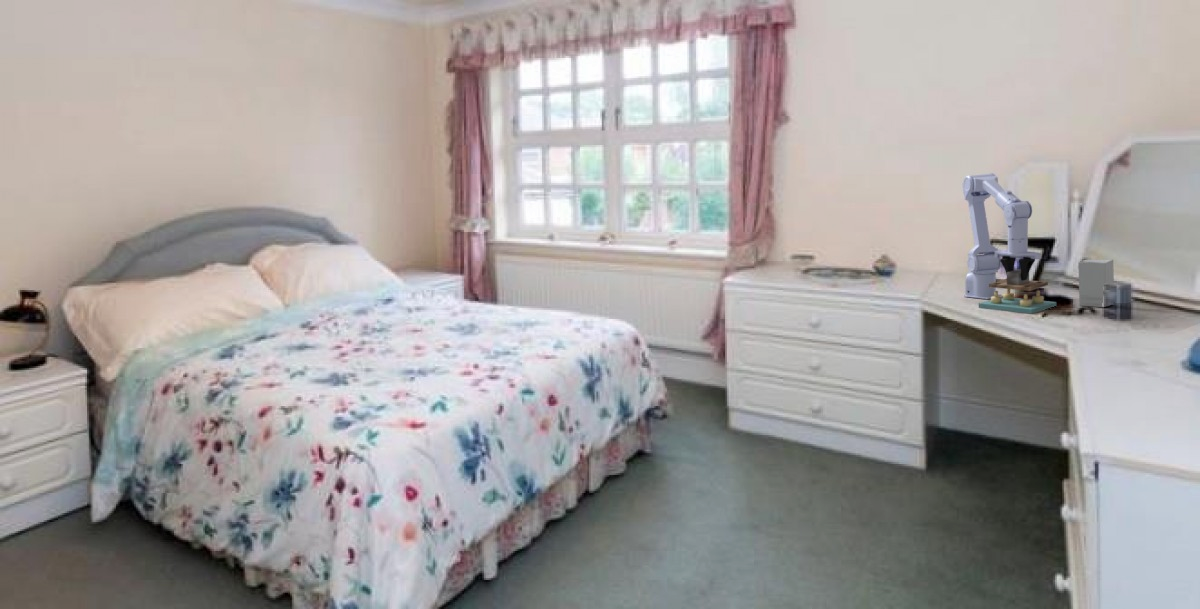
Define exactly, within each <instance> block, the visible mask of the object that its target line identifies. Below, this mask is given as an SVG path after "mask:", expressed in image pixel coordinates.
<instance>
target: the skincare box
mask: <svg viewBox="0 0 1200 609" xmlns="http://www.w3.org/2000/svg"><path fill="white" fill-rule="evenodd" d="M1114 275H1115V274H1114V259H1088V258H1087V259H1083V260H1082V261H1079V262H1078V288H1079V289H1078V295H1079V296H1078V297H1079V298H1078V300H1079V302H1078V304H1079V307H1081V306H1083V307H1092V308H1093V307H1095V308H1103V307H1102V303H1103V286H1104V284H1105V283H1111V282H1114V283H1115V281H1114V280H1115V278H1114V277H1115V276H1114Z"/></svg>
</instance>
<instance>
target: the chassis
mask: <svg viewBox="0 0 1200 609" xmlns="http://www.w3.org/2000/svg"><path fill="white" fill-rule="evenodd" d="M1035 293H1036V295H1033V296H1032V297H1031V298H1032V299H1031V298H1028V293H1023V298H1018V297H1015V293H1014V292H1013V293H1012V292H1011V289H1006V292H1005V293H1003V295H1002V296H998V294H999V290H996V291H995V296H992V297H991V299H988V300H986V301H983V302H979V303H978V308H980V309H985V310H996V311H1004V312H1010V313H1011V312H1013V313H1022V314H1029V315H1032V314H1037V313H1039V311H1040V312H1043V311H1046V310H1045V309H1047V308H1050V307H1054V306H1056V307H1057V301H1049V300H1048V301H1047V300H1044V299H1045V296H1043V295H1041V290H1036V292H1035ZM1054 308H1055V307H1054ZM1050 309H1051V308H1050ZM1042 310H1043V311H1042ZM1047 310H1048V309H1047ZM1036 312H1037V313H1036Z"/></svg>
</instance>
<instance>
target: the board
mask: <svg viewBox="0 0 1200 609" xmlns="http://www.w3.org/2000/svg"><path fill="white" fill-rule="evenodd" d="M1045 286H1046V287H1047V286H1049V282H1048V281H1042V280H1030V272H1029V273H1028V277H1027V280H1021V268H1018V269H1016V268H1015V269H1014V270H1013V271H1010V272H1007V274H1006V278H1004V279H1000V280H996V282H994V283H991V284H989V287H994V288H996V289H1006V290H1007V289H1010V290H1015V291H1018V290H1019V291H1027V292H1030V291H1031V292H1032V291H1034V290H1037V289H1040V288H1043V287H1045Z"/></svg>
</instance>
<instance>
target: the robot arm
mask: <svg viewBox="0 0 1200 609" xmlns="http://www.w3.org/2000/svg"><path fill="white" fill-rule="evenodd" d="M998 178H999V177H998V176H997V175H996V174H995V173H993V172H990V173H985V174H984V173H983V174H972V175H970V174H969V175H966V176H965V177H964V179H963V182H962V191H963V192H962V193H963V198H964V200H965V201H967V204H968V212H969V220H970V224H971V225H970V226H971V231H972V237H973V238H972V239H973V243H974V247H972V248H971V250H969V251H968V253H967V268H968V270H969V271H970V272H967V274H966V276H965V285H964V286H965V288H964V289H965V291H964V294H965V295H963V297H964V298H971V299H983V300H991V297H992V296H995V291H997V288H994V287H989V284H991V283H994V282H997V278H996V277H997V273H999V271H1000V269H1001V268H1002V266H1003V268H1004V271H1005V273H1006V275H1007V272H1010V271H1013V270H1015V263H1016V259H1018V261H1019V266H1020V268H1019V269H1021V280H1027V277H1028V273H1029V274H1030V270H1031V268H1032V266H1033V264H1035V261H1036V260H1041V259H1042V252H1036V251H1028V246H1029V245H1028V243H1029V240H1028V235H1029V230H1028V229H1029V219H1030V218H1031V217H1032V214H1033V206H1032V204H1031V203H1030V202H1029V201H1028V200H1020V198H1019V197H1017V196H1016V195H1015V194H1014V193H1013V191H1012V190H1010V189H1009V190H1005V189H1004V188H1003V187H1002V186H1001V185H1000V184H999V179H998ZM991 196H992V197H993V198H995V199H994V201H995V204H996V205H997V206H998V207H999V208H1000V209H1001V210H1003V215H1004V218H1005V224H1006V226H1007V250H999V249H998V248H997V247H995V246H994V245H992V244H991V239H990V233H989V226H988V221H987V220H988V218H987V214H986V206H985V201H986V200H987V199H989V198H990V197H991ZM998 296H1000V297H1002V294H1000V293H998Z"/></svg>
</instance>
